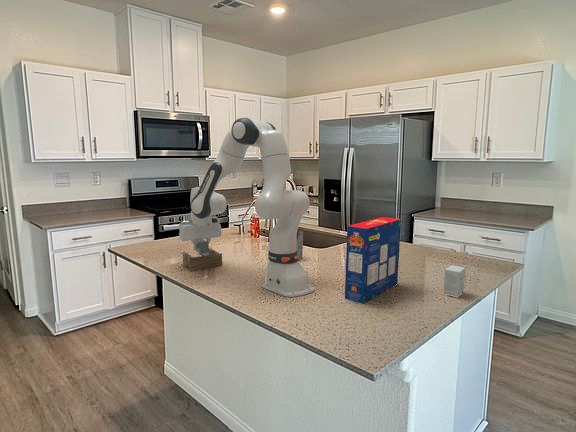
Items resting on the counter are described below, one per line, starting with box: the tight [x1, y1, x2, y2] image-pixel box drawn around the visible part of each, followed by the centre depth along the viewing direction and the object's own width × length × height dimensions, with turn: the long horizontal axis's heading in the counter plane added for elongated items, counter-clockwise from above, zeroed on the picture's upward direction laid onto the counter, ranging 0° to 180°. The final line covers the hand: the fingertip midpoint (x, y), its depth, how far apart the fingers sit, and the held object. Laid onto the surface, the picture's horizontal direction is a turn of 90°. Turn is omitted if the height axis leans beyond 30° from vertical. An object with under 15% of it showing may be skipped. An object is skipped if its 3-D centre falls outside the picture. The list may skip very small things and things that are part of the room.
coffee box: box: [296, 227, 304, 261], centre depth 197 cm, size 9×6×16 cm
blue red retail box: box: [344, 216, 402, 305], centre depth 150 cm, size 28×8×28 cm, turn 139°
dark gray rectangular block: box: [193, 239, 209, 255], centre depth 185 cm, size 9×4×5 cm, turn 33°
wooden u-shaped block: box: [182, 247, 223, 272], centre depth 185 cm, size 13×16×6 cm
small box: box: [442, 264, 466, 297], centre depth 149 cm, size 8×6×10 cm
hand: (201, 247), depth 185 cm, fingers closed on dark gray rectangular block, 4 cm apart
